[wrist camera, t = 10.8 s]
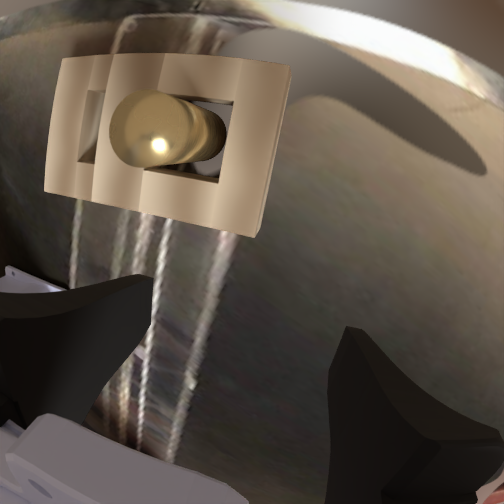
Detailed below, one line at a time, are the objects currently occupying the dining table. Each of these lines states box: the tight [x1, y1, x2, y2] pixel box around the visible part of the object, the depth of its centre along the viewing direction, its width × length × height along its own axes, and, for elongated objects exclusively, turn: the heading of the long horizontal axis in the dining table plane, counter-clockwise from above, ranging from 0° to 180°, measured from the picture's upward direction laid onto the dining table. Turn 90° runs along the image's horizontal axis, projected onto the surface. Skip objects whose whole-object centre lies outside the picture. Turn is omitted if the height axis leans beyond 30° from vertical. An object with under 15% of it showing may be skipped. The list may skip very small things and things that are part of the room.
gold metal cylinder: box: [109, 89, 227, 168], centre depth 16 cm, size 3×3×8 cm
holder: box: [44, 53, 292, 238], centre depth 19 cm, size 16×10×2 cm, turn 79°
